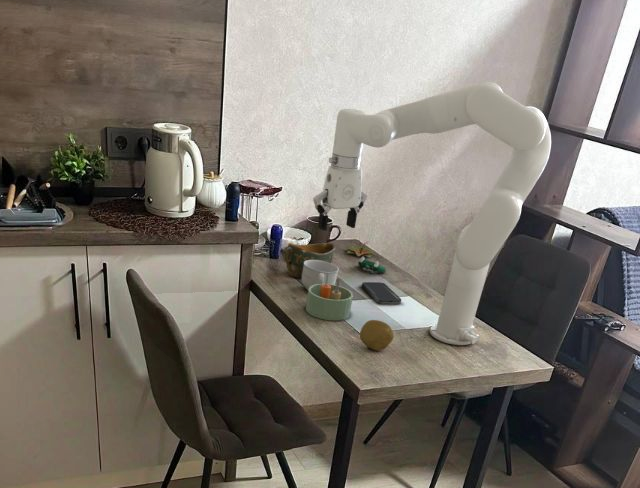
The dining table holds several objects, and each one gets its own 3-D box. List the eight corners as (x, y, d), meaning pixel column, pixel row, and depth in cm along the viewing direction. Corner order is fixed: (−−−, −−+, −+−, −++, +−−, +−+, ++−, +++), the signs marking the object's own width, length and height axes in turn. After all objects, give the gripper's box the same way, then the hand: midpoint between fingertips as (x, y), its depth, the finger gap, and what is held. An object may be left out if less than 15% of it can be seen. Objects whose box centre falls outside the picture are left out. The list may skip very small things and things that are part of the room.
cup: (270, 265, 237) (274, 234, 231) (328, 267, 242) (333, 236, 237) (280, 279, 227) (284, 248, 221) (340, 281, 232) (345, 249, 227)
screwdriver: (329, 307, 210) (335, 273, 205) (322, 308, 209) (327, 274, 203) (324, 303, 212) (329, 270, 207) (316, 304, 211) (321, 271, 205)
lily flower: (340, 255, 255) (343, 242, 252) (347, 245, 264) (349, 233, 262) (374, 261, 253) (376, 248, 250) (379, 252, 263) (381, 239, 260)
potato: (355, 343, 193) (361, 315, 189) (382, 343, 195) (388, 315, 191) (363, 354, 188) (369, 326, 183) (391, 354, 189) (397, 326, 185)
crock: (358, 317, 208) (361, 297, 205) (322, 323, 202) (325, 302, 199) (332, 301, 217) (335, 281, 213) (297, 305, 210) (299, 286, 207)
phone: (383, 282, 232) (402, 300, 220) (382, 285, 233) (401, 303, 221) (360, 282, 230) (379, 300, 218) (360, 285, 230) (378, 303, 219)
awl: (339, 313, 207) (345, 279, 201) (332, 314, 206) (337, 280, 200) (334, 310, 209) (339, 276, 203) (326, 311, 207) (332, 277, 202)
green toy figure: (358, 271, 247) (354, 262, 242) (363, 262, 248) (359, 252, 242) (381, 279, 244) (378, 270, 238) (387, 270, 244) (383, 260, 239)
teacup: (303, 281, 228) (307, 256, 223) (337, 287, 227) (341, 262, 222) (295, 296, 216) (298, 270, 212) (330, 303, 215) (334, 277, 211)
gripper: (327, 166, 182) (318, 234, 191) (380, 164, 190) (369, 229, 200) (310, 159, 187) (302, 226, 196) (362, 158, 195) (353, 222, 205)
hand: (336, 227), depth 198 cm, fingers open, 9 cm apart
